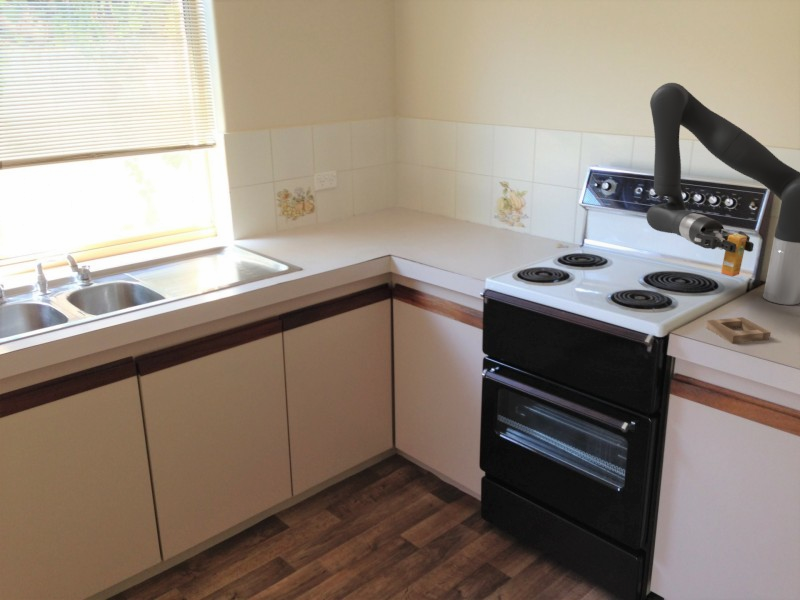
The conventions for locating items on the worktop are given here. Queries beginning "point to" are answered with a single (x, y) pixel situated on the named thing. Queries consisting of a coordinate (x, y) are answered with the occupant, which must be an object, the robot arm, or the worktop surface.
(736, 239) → the supplement box
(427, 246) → the worktop surface
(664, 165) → the robot arm
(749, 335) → the socket board
